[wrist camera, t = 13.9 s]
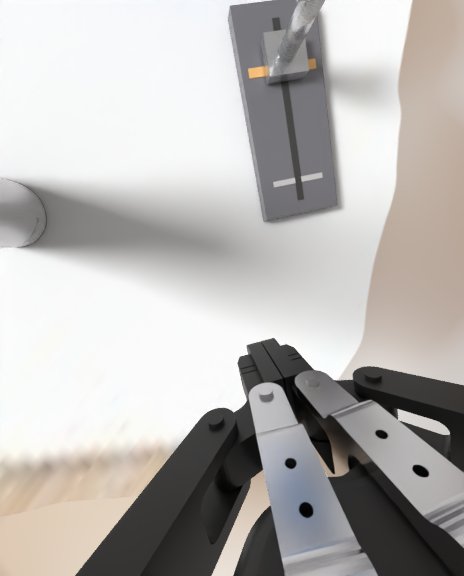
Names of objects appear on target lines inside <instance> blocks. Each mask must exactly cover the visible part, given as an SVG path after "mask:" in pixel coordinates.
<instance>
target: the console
mask: <svg viewBox="0 0 464 576" xmlns="http://www.w3.org/2000/svg"><path fill="white" fill-rule="evenodd" d="M297 4H298V2H297V0H273V1H265V2H257V3H249V4H241V5H233V6H230V9H229V16H228V22H229V28H230V34H231V39H232V45H233V51H234V56H235V62H236V68H237V73H238V79H239V85H240V90H241V96H242V102H243V107H244V113H245V119H246V125H247V130H248V136H249V142H250V147H251V153H252V159H253V164H254V170H255V176H256V181H257V187H258V193H259V198H260V204H261V210H262V215H263V221H268V220H272V219H277V218H281V217H286V216H291V215H295V214H300V213H305V212H309V211H314V210H318V209H323V208H328V207H332V206H336V205H337V198H336V188H335V179H334V170H333V160H332V151H331V142H330V133H329V123H328V114H327V105H326V96H325V86H324V77H323V68H322V59H321V49H320V40H319V31H318V22H317V16H316V18H315V20H314V22H313V24H312V26H311V27H310V29H309V31H308V33H307V35H306V37H305V41H306V49H307V57H308V66H309V71H308V73H307V74H306V76H305V77H304V78H301V79H295V80H289V81H283V82H276V83H270V84H267V83H266V76H265V70H264V63H263V57H262V50H261V44H260V41H261V38H262V35H263V33H264V32H271V31H278V30H286V29H287V27H288V25H289V22H290V20H291V18H292V15H293V13H294V11H295V8H296V6H297Z"/></svg>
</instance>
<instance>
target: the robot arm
mask: <svg viewBox="0 0 464 576" xmlns="http://www.w3.org/2000/svg"><path fill="white" fill-rule="evenodd" d="M45 225H46V214H45V210H44V207H43V205H42V203H41V201H40V200H39V198H38V197H37V196H36V195H35V194H34V193H33V192H32V191H31V190H30V189H28V188H27V187H25V186H23V185H21V184H19V183H16V182H13V181H10V180H7V179H4V178H0V248H9V247H23V246H27V245H29V244H31V243H33V242H35V241H36V240H37V239H38V238H39V237H40V236H41V235H42V233H43V231H44V229H45ZM247 351H248V355H245V356H241V357H240V358H239V360H238V367H239V371H240V376H241V380H242V385H243V389H244V392H245V395H246V398H247V402H246V403H245V405H244V406H243V407H242V408H240V409H239V410H238V411H236V412H234V413H233V412H232V411H231V410H229V409H227V408H217V409H214V410H211V411H209V412H207V413H206V414H205V415H204V416H203V417H202V418H201V419H200V420H199V421H198V423H197V424H196V425H195V426H194V428H193V429H192V430H191V431H190V433H189V434H188V435H187V436H186V438H185V439H184V440H183V441H182V443H181V444H180V445H179V446H178V448H177V449H176V450H175V451H174V453H173V454H172V455H171V456H170V458H169V459H168V460H167V461H166V463H165V464H164V465H163V466H162V468H161V469H160V470H159V471H158V473H157V474H156V475H155V476H154V478H153V479H152V480H151V481H150V483H149V484H148V485H147V486H146V488H145V489H144V490H143V491H142V493H141V494H140V495H139V496H138V498H137V499H136V500H135V502H134V503H133V504H132V505H131V506H130V508H129V509H128V511H126V513H125V514H124V515H123V516H122V518H121V519H120V520H119V521H118V523H117V524H116V525H115V526H114V528H113V529H112V530H111V531H110V533H109V534H108V535H107V537H106V538H105V539H104V540H103V541H102V543H101V544H100V545H99V547H98V548H97V549H96V550H95V552H94V553H93V554H92V555H91V557H90V558H89V559H88V560H87V562H86V563H85V564H84V565H83V567H82V568H81V569H80V570H79V572H78V573H77V574H76V575H75V576H211V575H212V573H213V571H214V569H215V566H216V564H217V562H218V559H219V557H220V555H221V552H222V550H223V548H224V546H225V543H226V541H227V539H228V536H229V534H230V532H231V530H232V527H233V525H234V522H235V520H236V518H237V516H238V513H239V511H240V509H241V507H242V504H243V502H244V500H245V497H246V495H247V493H248V490H249V488H250V484H251V478H252V477H254V476H255V475H256V474H258V473H259V472H260V471H262V470H264V475H265V480H266V485H267V490H268V495H269V500H270V504H271V505H270V506H269V507H268V508H267V509H266V510H265V511H264V512H263V513H262V514H261V516H260V517H259V518H258V519H257V521H256V522H255V524H254V525H253V527H252V528H251V530H250V533H249V535H248V537H247V539H246V542H245V544H244V547H243V549H242V552H241V555H240V558H239V561H238V564H237V567H236V570H235V573H234V575H233V576H464V386H463V385H459V384H454V383H449V382H445V381H440V380H435V379H430V378H426V377H421V376H416V375H411V374H407V373H402V372H397V371H393V370H388V369H383V368H379V367H370V366H369V367H361V368H359V369H357V370H355V371H354V373H353V380H341V381H336V380H333V379H332V378H331V377H329V376H328V375H327V374H326V373H324V372H321V371H316V370H314V369H313V368H312V367H311V366H310V365H309V364H308V363H307V362H306V361H305V359H304V358H302V356H301V355H300V354H299V353H298V352H297V351H296V349H295V348H294V347H291V346H289V345H287V344H286V345H282V346H280V345H279V344H278V342H277V341H276V340H275V339H274V338H272V339H268V340H264V341H261V342H257V343H253V344H250V345H247ZM397 409H400V410H404V411H407V412H411V413H413V414H417V415H420V416H423V417H427V418H430V419H433V420H436V421H439V422H440V423H442V424H443V425H445V426H446V427H447V428H448V430H449V431H450V435H441V434H438V433H435V432H432V431H429V430H426V429H423V428H420V427H417V426H414V425H411V424H408V423H405V422H402V421H399V420H398V413H397ZM326 474H327V475H326ZM327 476H328V477H327Z"/></svg>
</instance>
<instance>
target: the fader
mask: <svg viewBox="0 0 464 576" xmlns="http://www.w3.org/2000/svg"><path fill="white" fill-rule="evenodd" d="M324 1H325V0H297V2H298V4H297V6H296V8H295V11H294V13H293V15H292V18H291V20H290V22H289V25H288V27H287V29H286V30H278V31H271V32H264V33H263V35H262V38H261V41H260V44H261V50H262V57H263V63H264V70H265V76H266V83H267V84H270V83H276V82H283V81H289V80H295V79H301V78H304V77H305V76H306V74H307V73H308V71H309V66H308V57H307V49H306V41H305V37H306V35H307V33H308V31H309V29H310V27H311V26H312V24H313V22H314V20H315V18H316V16H317V14H318V13H319V11H320V9H321V7H322V5H323V3H324Z"/></svg>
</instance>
